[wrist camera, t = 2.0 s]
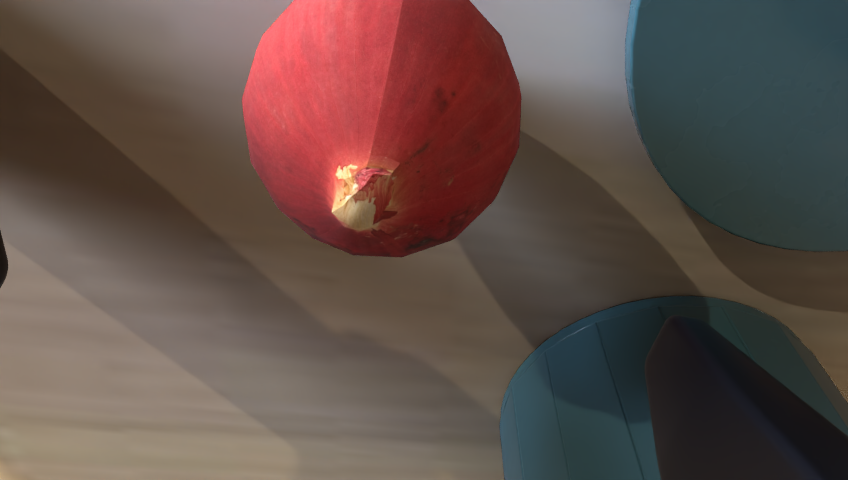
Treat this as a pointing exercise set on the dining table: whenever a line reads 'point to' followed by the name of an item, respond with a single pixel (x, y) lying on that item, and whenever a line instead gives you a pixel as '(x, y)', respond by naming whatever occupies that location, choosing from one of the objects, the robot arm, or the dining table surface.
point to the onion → (382, 120)
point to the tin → (631, 388)
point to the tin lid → (747, 113)
